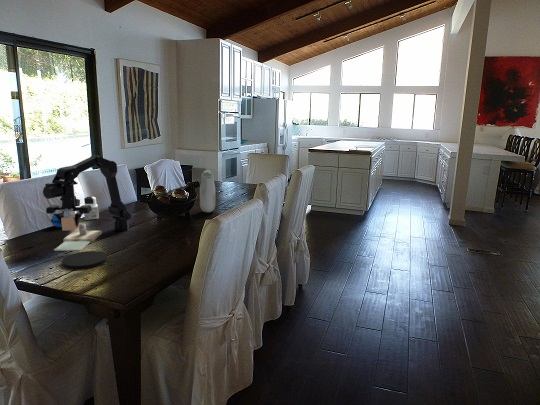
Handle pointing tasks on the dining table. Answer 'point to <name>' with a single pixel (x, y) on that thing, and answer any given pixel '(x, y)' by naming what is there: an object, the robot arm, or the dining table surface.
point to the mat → (72, 246)
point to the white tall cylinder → (207, 192)
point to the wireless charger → (84, 260)
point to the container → (94, 213)
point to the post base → (82, 235)
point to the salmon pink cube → (69, 222)
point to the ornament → (56, 221)
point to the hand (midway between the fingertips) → (70, 226)
